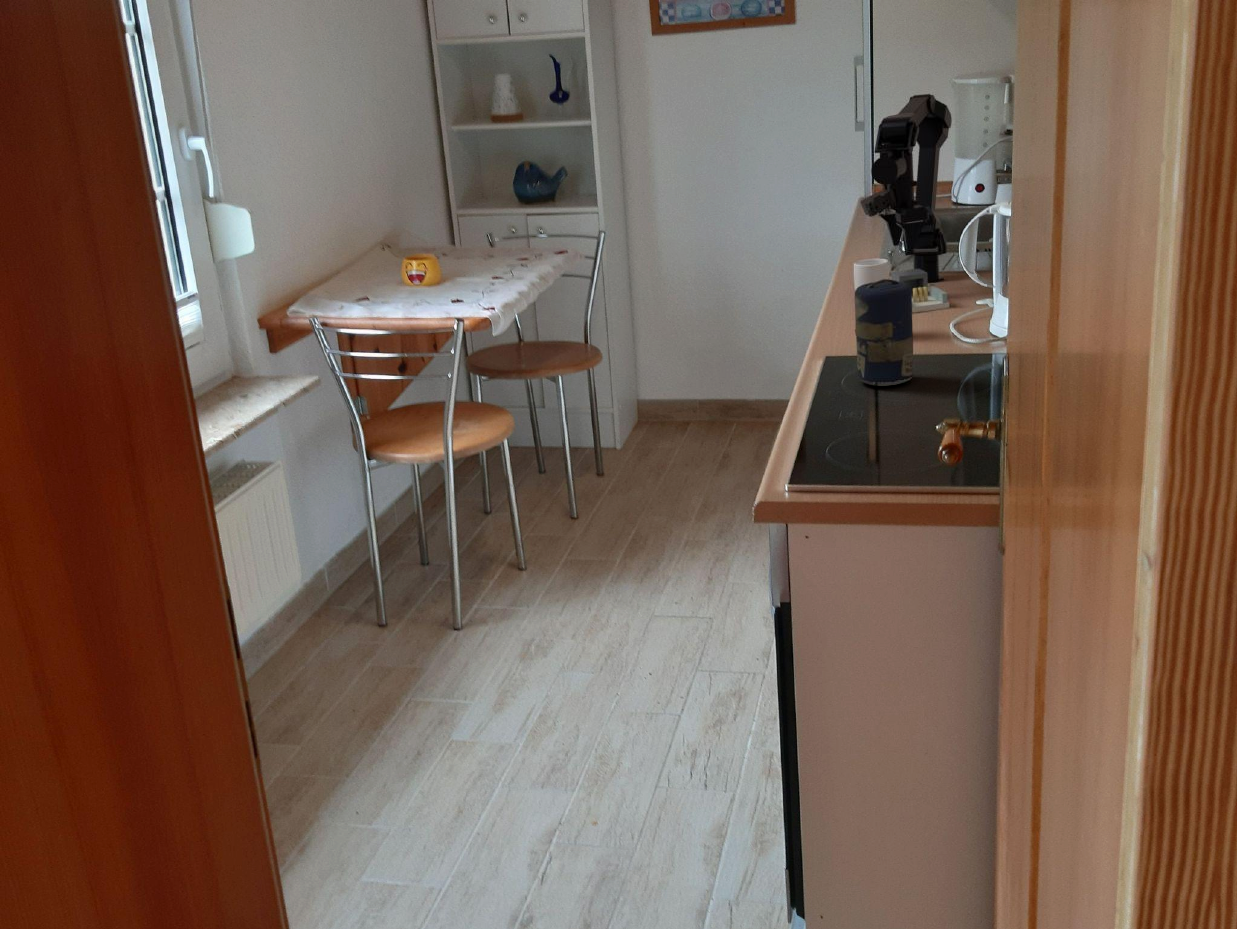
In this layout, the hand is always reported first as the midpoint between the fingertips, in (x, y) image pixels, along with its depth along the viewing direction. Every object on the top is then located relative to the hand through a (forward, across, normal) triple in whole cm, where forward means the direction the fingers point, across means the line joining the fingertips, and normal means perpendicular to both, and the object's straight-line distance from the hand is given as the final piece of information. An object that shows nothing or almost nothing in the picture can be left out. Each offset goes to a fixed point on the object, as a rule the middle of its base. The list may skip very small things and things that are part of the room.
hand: (902, 248), depth 263 cm
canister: (+10, +62, -24) cm, 68 cm away
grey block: (+9, +4, 0) cm, 10 cm away
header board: (+11, +7, 0) cm, 13 cm away
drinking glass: (+10, +32, -17) cm, 37 cm away
